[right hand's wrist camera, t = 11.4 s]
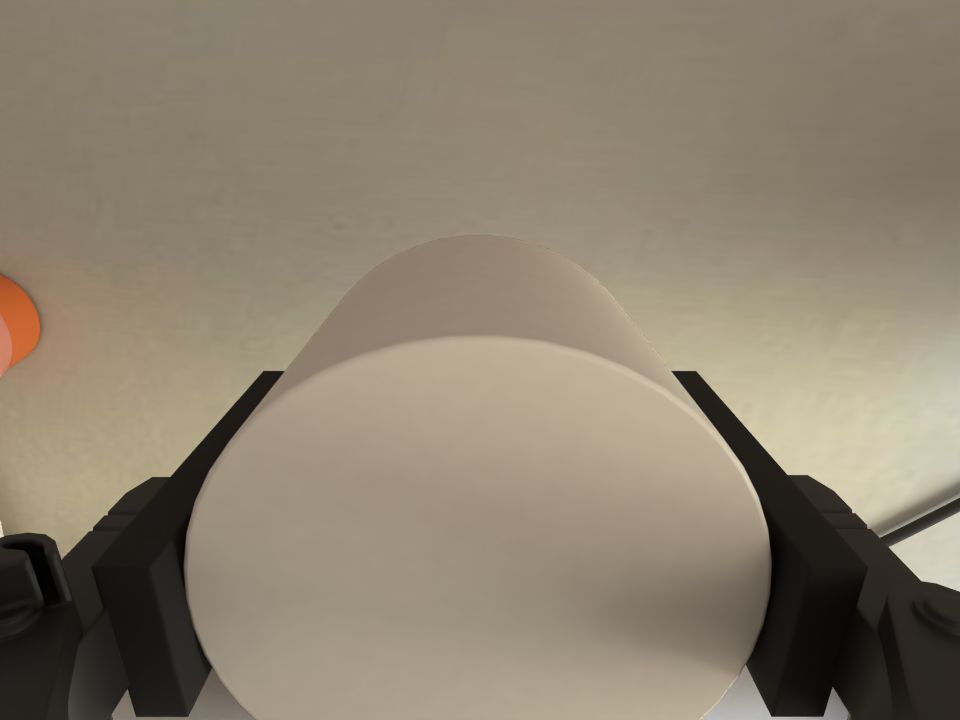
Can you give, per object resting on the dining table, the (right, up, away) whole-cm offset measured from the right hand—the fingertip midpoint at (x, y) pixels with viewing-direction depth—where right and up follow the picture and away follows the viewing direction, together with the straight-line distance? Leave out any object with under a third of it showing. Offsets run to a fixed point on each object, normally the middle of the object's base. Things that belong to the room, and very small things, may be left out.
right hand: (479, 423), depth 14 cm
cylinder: (0, 0, +1) cm, 1 cm away
